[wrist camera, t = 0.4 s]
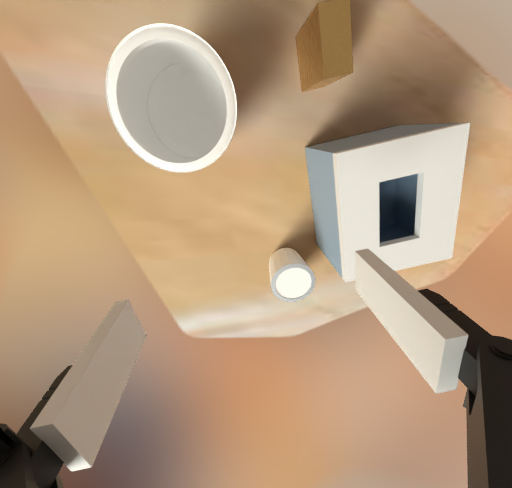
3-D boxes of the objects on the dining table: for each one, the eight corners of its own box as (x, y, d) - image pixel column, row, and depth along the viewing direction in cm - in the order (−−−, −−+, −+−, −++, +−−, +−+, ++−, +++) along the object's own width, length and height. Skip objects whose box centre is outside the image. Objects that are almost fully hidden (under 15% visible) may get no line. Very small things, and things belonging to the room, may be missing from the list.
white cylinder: (302, 241, 43) (314, 260, 36) (305, 275, 46) (317, 298, 39) (262, 247, 43) (268, 268, 36) (268, 281, 45) (273, 306, 39)
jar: (143, 82, 32) (76, 45, 18) (221, 59, 31) (214, 3, 18) (175, 166, 36) (141, 187, 22) (244, 147, 36) (252, 156, 22)
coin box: (305, 147, 37) (336, 153, 26) (398, 125, 36) (470, 122, 26) (316, 244, 43) (345, 282, 32) (396, 226, 43) (452, 257, 32)
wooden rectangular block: (295, 37, 31) (318, 3, 23) (319, 31, 31) (350, -5, 23) (301, 91, 34) (324, 79, 26) (323, 86, 34) (353, 72, 25)
